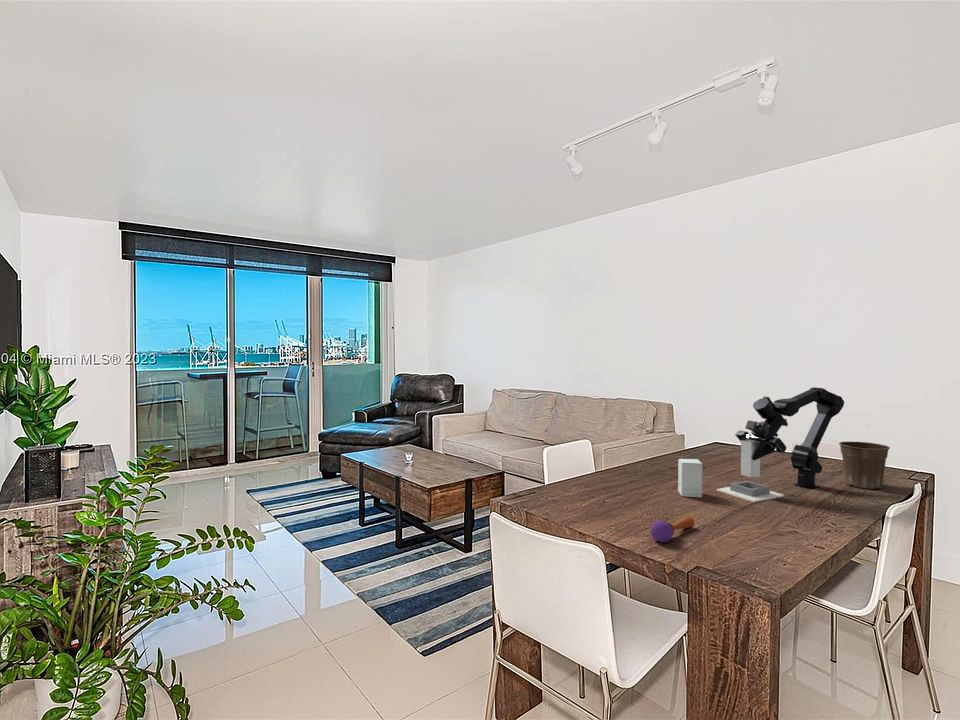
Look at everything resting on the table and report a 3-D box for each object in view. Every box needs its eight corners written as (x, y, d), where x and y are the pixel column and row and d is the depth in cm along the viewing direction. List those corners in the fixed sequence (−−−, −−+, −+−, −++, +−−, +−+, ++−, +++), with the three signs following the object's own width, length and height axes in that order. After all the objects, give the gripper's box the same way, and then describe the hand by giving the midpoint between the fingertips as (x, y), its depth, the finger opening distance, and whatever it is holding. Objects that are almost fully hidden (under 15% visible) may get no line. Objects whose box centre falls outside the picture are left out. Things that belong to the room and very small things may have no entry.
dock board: (745, 487, 207) (745, 477, 207) (783, 497, 193) (784, 488, 193) (716, 492, 200) (716, 482, 200) (754, 503, 186) (754, 493, 186)
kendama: (700, 517, 159) (668, 528, 146) (696, 535, 160) (663, 548, 146) (682, 508, 164) (649, 518, 150) (678, 526, 164) (644, 538, 151)
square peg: (749, 473, 199) (750, 439, 198) (759, 476, 195) (760, 441, 194) (740, 474, 197) (741, 440, 197) (750, 477, 193) (751, 442, 193)
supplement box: (702, 497, 191) (702, 463, 191) (681, 496, 193) (681, 462, 192) (698, 492, 198) (698, 459, 198) (677, 490, 200) (678, 458, 199)
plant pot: (832, 478, 217) (833, 439, 217) (879, 481, 212) (880, 442, 212) (845, 488, 202) (846, 447, 202) (896, 492, 197) (897, 450, 196)
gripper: (739, 409, 205) (716, 439, 202) (780, 416, 188) (757, 449, 184) (754, 428, 208) (732, 458, 205) (796, 436, 191) (773, 469, 187)
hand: (747, 458), depth 195 cm, fingers closed on square peg, 4 cm apart
